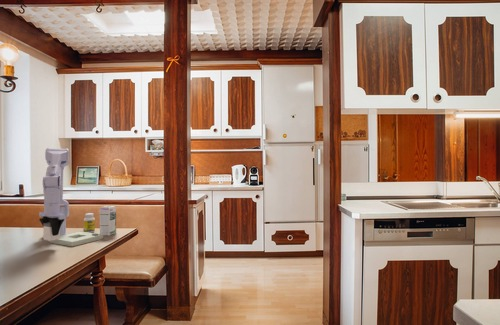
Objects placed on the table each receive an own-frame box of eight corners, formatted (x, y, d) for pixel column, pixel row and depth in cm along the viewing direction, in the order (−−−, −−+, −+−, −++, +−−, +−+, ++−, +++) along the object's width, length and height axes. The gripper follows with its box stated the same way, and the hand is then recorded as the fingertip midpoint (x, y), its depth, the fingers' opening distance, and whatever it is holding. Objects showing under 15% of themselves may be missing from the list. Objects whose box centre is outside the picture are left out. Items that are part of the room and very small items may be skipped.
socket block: (49, 242, 146) (49, 236, 146) (80, 235, 161) (81, 230, 161) (72, 246, 139) (72, 240, 139) (102, 238, 154) (103, 233, 154)
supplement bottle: (87, 233, 165) (87, 214, 165) (81, 232, 168) (81, 213, 168) (96, 231, 169) (97, 213, 169) (91, 230, 172) (91, 212, 172)
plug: (43, 239, 135) (43, 223, 135) (53, 237, 139) (53, 221, 139) (49, 240, 133) (49, 224, 133) (60, 238, 137) (60, 222, 137)
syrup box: (109, 235, 160) (109, 207, 160) (99, 235, 162) (99, 206, 162) (116, 233, 166) (116, 205, 166) (106, 232, 167) (106, 205, 167)
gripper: (32, 203, 136) (31, 234, 136) (53, 205, 129) (53, 238, 129) (48, 201, 142) (48, 231, 142) (69, 203, 136) (69, 234, 136)
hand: (51, 234), depth 136 cm, fingers closed on plug, 4 cm apart
